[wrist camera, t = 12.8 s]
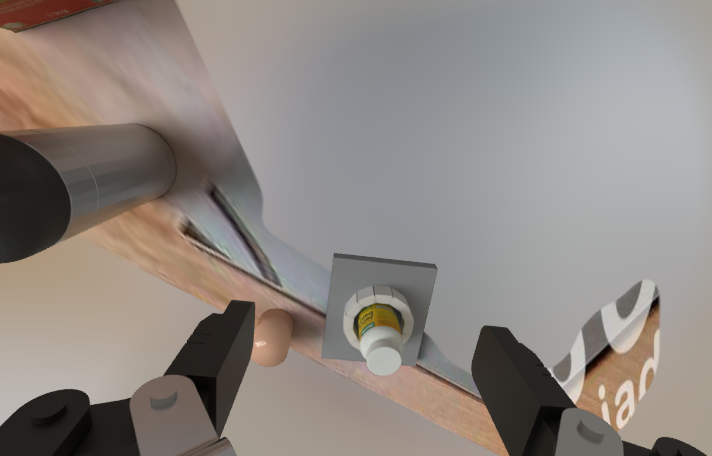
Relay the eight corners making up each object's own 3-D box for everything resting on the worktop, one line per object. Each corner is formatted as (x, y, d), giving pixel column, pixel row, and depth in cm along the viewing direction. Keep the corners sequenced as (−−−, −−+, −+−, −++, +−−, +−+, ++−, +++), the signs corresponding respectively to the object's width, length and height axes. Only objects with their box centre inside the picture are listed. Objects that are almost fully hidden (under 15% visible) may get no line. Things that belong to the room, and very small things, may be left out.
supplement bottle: (385, 336, 50) (394, 387, 40) (351, 323, 49) (352, 372, 40) (402, 306, 48) (415, 352, 39) (367, 292, 47) (373, 335, 38)
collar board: (322, 351, 52) (320, 370, 48) (333, 253, 47) (332, 265, 43) (413, 359, 53) (418, 378, 49) (434, 264, 48) (442, 277, 44)
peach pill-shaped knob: (258, 336, 51) (247, 365, 45) (259, 307, 49) (248, 332, 44) (292, 339, 51) (286, 368, 45) (295, 310, 50) (288, 336, 44)
